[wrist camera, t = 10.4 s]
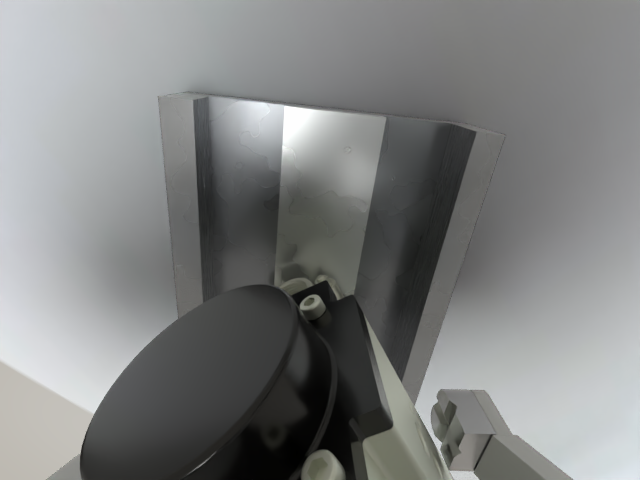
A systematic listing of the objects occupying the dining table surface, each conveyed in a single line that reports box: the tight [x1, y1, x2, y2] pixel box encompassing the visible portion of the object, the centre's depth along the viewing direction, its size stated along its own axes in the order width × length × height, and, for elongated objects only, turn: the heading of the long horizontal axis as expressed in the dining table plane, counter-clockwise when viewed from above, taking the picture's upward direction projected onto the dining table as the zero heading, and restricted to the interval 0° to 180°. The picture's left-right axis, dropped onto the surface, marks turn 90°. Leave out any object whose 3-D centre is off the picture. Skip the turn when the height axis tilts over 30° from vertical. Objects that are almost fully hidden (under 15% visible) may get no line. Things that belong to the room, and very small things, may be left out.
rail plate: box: [158, 92, 505, 406], centre depth 16 cm, size 17×11×3 cm, turn 174°
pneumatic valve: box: [80, 275, 454, 480], centre depth 10 cm, size 6×12×12 cm, turn 26°
